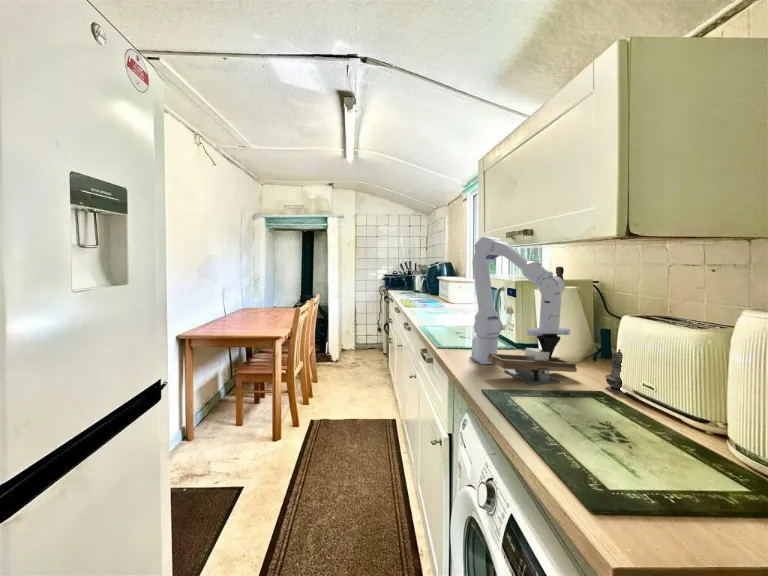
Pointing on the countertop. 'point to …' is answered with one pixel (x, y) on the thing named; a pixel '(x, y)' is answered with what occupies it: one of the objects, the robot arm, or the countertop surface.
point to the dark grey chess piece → (615, 374)
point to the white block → (536, 355)
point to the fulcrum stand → (533, 376)
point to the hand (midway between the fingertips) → (547, 357)
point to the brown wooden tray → (530, 363)
